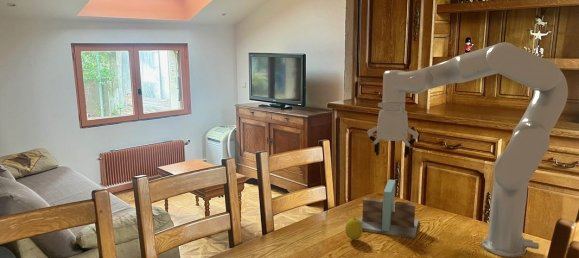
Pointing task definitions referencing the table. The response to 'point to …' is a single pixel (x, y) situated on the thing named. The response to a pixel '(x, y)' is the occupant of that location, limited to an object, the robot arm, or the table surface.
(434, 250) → the table surface
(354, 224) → the lemon
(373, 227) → the base
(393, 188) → the notched plate
